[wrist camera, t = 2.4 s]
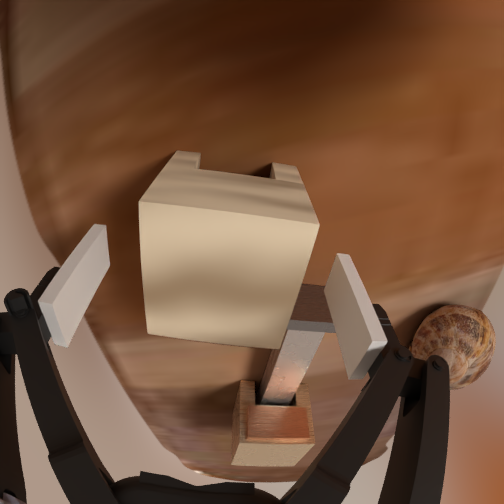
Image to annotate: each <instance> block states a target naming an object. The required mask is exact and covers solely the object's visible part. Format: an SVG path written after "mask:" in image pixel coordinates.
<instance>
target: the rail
mask: <svg viewBox="0 0 504 504" xmlns="http://www.w3.org/2000/svg"><path fill="white" fill-rule="evenodd" d="M324 288H325V286H318V285H308V284H301V287H300V290H299V293H298V296H297V299H296V302H295V305H294V308H293V311H292V314H291V317H290V320H289V323H288V326H287V329H286V332H285V335H284V338H283V340H282V343H281V346H280V349H272V351H271V354H270V357H269V360H268V363H267V366H266V369H265V372H264V375H263V378H262V380H261V383H260V386H259V389H258V392H257V395H256V398H255V381H247V380H241V381H240V385H239V389H238V393H237V397H236V401H235V405H234V409H233V420H232V452H231V465H243V466H294V465H295V464H296V463H297V462H298V461H299V460H300V459H301V458H302V457H303V456H304V455H305V454H306V453H307V452H308V451H309V450H310V449H311V448H312V447H313V446H314V444H315V438H314V430H313V422H312V414H311V406H310V398H309V391H308V384H302V383H300V382H301V381H302V379H303V377H304V375H305V373H306V371H307V369H308V367H309V365H310V363H311V361H312V359H313V357H314V355H315V353H316V350H317V348H318V346H319V344H320V342H321V340H322V338H323V336H324V334H325V332H328V333H336V331H335V327H334V324H333V320H332V317H331V313H330V310H329V307H328V303H327V300H326V296H325V293H324Z"/></svg>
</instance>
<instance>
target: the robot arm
mask: <svg viewBox="0 0 504 504" xmlns="http://www.w3.org/2000/svg"><path fill="white" fill-rule="evenodd" d="M109 267H110V259H109V251H108V241H107V231H106V225H99V224H94V225H93V226H92V227H91V229H90V230H89V231H88V232H87V234H86V235H85V236H84V237H83V239H82V240H81V241H80V243H79V244H78V245H77V246H76V248H75V249H74V250H73V252H72V253H71V254H70V256H69V257H68V258H67V260H66V261H65V263H64V264H63V265H62V267H61V268H60V267H54V268H52V269H51V270H49V271H48V272H47V273H46V275H45V276H44V277H43V278H42V280H41V281H40V283H39V285H37V287H36V288H35V290H34V291H33V293H32V294H31V295H29V293H28V291H27V290H25V289H22V288H18V289H14V290H12V291H10V292H9V293H8V294H7V295H6V297H5V298H4V304H5V306H6V309H7V311H8V312H2V313H0V504H27V501H26V489H25V482H24V477H23V471H22V465H21V458H20V452H19V443H18V434H17V423H16V406H15V354H17V355H18V360H19V364H20V368H21V372H22V376H23V379H24V383H25V386H26V390H27V393H28V396H29V399H30V402H31V406H32V409H33V411H34V414H35V417H36V420H37V423H38V426H39V428H40V431H41V433H42V436H43V439H44V441H45V443H46V446H47V448H48V451H49V455H48V458H49V462H50V464H51V466H52V469H53V471H54V473H55V475H56V477H57V479H58V481H59V483H60V485H61V487H62V489H63V491H64V493H65V495H66V497H67V498H68V500H69V502H70V504H341V503H342V501H343V500H344V498H345V497H346V495H347V494H348V492H349V490H350V483H351V481H352V480H353V478H354V477H355V475H356V474H357V472H358V470H359V469H360V467H361V465H362V464H363V462H364V461H365V459H366V457H367V455H368V454H369V452H370V450H371V449H372V447H373V445H374V443H375V441H376V440H377V438H378V436H379V434H380V432H381V430H382V429H383V427H384V425H385V423H386V421H387V419H388V417H389V415H390V413H391V411H392V409H393V407H394V405H395V403H396V401H397V399H398V396H401V402H400V408H399V415H398V420H397V426H396V431H395V436H394V442H393V446H392V451H391V456H390V460H389V464H388V468H387V472H386V476H385V480H384V484H383V487H382V491H381V494H380V498H379V501H378V504H440V500H441V494H442V487H443V480H444V474H445V465H446V455H447V446H448V432H449V409H450V374H449V365H448V363H447V361H446V360H445V359H444V358H443V357H441V356H439V355H431V356H430V357H429V358H428V359H427V360H426V361H425V360H422V359H418V358H414V357H413V354H412V353H411V351H410V350H409V349H407V348H406V347H404V346H402V345H400V343H399V340H398V338H397V336H396V334H395V331H394V329H393V327H392V326H391V323H390V320H388V319H389V318H388V316H387V314H386V312H385V310H384V309H383V308H382V307H381V306H380V305H379V304H372V303H371V301H370V299H369V296H368V294H367V292H366V290H365V288H364V285H363V283H362V281H361V279H360V277H359V275H358V272H357V270H356V268H355V266H354V264H353V262H352V260H351V258H350V256H349V255H347V254H339V253H337V255H336V258H335V260H334V263H333V266H332V269H331V272H330V275H329V277H328V280H327V283H326V286H325V288H324V293H325V296H326V300H327V303H328V307H329V310H330V313H331V317H332V320H333V324H334V327H335V331H336V334H337V338H338V341H339V345H340V349H341V352H342V356H343V360H344V363H345V367H346V371H347V375H348V379H363V378H364V377H365V375H366V374H367V372H368V373H369V376H370V379H369V380H368V382H367V383H366V385H365V386H364V387H363V389H362V390H361V391H362V392H361V393H360V395H359V396H358V398H357V400H356V401H355V403H354V404H353V406H352V407H351V409H350V410H349V412H348V413H347V415H346V416H345V418H344V419H343V421H342V422H341V424H340V425H339V427H338V428H337V430H336V431H335V432H334V434H333V435H332V437H331V438H330V439H329V441H328V442H327V444H326V445H325V446H324V448H323V449H322V450H321V452H320V453H319V454H318V456H317V457H316V458H315V460H314V461H313V462H312V463H311V465H310V466H309V467H308V468H307V470H306V471H305V472H304V473H303V475H302V476H301V477H300V478H299V480H298V481H297V482H296V483H295V484H294V485H293V486H292V487H291V489H290V490H289V491H288V492H287V493H286V494H285V495H284V496H283V497H282V498H281V499H280V500H279V499H278V498H276V497H275V496H273V495H271V494H269V493H267V492H265V491H263V490H260V489H256V488H254V483H236V482H224V483H218V484H210V485H203V486H194V485H191V484H189V483H186V482H183V481H180V480H177V479H175V478H172V477H170V476H166V475H159V474H153V473H148V472H143V471H141V472H140V476H134V477H128V478H125V479H122V480H119V481H117V482H114V480H113V479H112V477H111V476H110V474H109V473H108V471H107V470H106V468H105V467H104V465H103V464H102V462H101V460H100V459H99V457H98V455H97V453H96V452H95V450H94V448H93V446H92V444H91V442H90V440H89V438H88V436H87V435H86V432H85V431H84V428H83V426H82V425H81V422H80V420H79V418H78V416H77V414H76V412H75V410H74V407H73V405H72V403H71V401H70V398H69V396H68V394H67V391H66V389H65V386H64V384H63V381H62V379H61V377H60V374H59V371H58V369H57V366H56V363H55V360H54V358H53V355H52V352H51V349H50V346H49V344H48V341H49V339H50V337H52V340H53V342H54V344H55V345H59V346H63V347H66V348H68V346H69V344H70V342H71V340H72V338H73V335H74V334H75V331H76V329H77V327H78V325H79V323H80V321H81V319H82V317H83V315H84V313H85V311H86V309H87V307H88V305H89V303H90V302H91V300H92V298H93V296H94V294H95V292H96V290H97V288H98V286H99V285H100V283H101V281H102V279H103V277H104V275H105V274H106V272H107V270H108V268H109Z"/></svg>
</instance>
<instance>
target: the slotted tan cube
mask: <svg viewBox="0 0 504 504" xmlns="http://www.w3.org/2000/svg"><path fill="white" fill-rule="evenodd" d="M200 157H201V153H197V152H187V151H176V153H175V154H174V155H173V156H172V158H171V159H170V160H169V161H168V163H167V164H166V165H165V167H164V168H163V169H162V171H161V172H160V173H159V174H158V176H157V177H156V178H155V180H154V181H153V182H152V184H151V185H150V186H149V188H148V189H147V191H146V192H145V193H144V195H143V196H142V197H141V199H140V200H139V230H140V252H141V268H142V281H143V293H144V303H145V313H146V322H147V331H148V334H153V335H159V336H162V337H169V338H175V339H182V340H190V341H197V342H205V343H213V344H222V345H231V346H241V347H251V348H263V349H265V348H269V349H280V346H281V343H282V340H283V338H284V335H285V332H286V329H287V326H288V323H289V320H290V317H291V314H292V311H293V308H294V305H295V302H296V299H297V296H298V293H299V290H300V287H301V284H302V281H303V278H304V275H305V272H306V268H307V265H308V262H309V259H310V256H311V252H312V249H313V246H314V242H315V239H316V236H317V232H318V229H319V226H320V224H319V221H318V219H317V216H316V214H315V211H314V209H313V206H312V204H311V201H310V199H309V196H308V194H307V191H306V189H305V186H304V184H303V182H302V179H301V177H300V174H299V172H298V170H297V167H296V166H291V165H285V164H279V163H273V162H272V167H271V172H270V177H269V178H263V177H256V176H249V175H242V174H235V173H227V172H219V171H211V170H202V169H199V168H200Z"/></svg>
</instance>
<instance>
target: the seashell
mask: <svg viewBox="0 0 504 504" xmlns="http://www.w3.org/2000/svg"><path fill="white" fill-rule="evenodd" d="M409 350H410V351H411V353H412V354H413V357H414V358H418V359H422V360H425V361H426V360H427V359H428V358H429V357H430V356H431V355H439V356H441V357H443V358H444V359H445V360H446V361H447V363H448V365H449V374H450V390H453V389H460V388H463V387H465V386H467V385H469V384H471V383H473V382H474V381H476V380H477V379H478V378H479V377H480V376H481V375H482V374H483V373H484V372H485V370H486V369H487V368H488V366H489V364H490V362H491V359H492V357H493V354H494V350H495V332H494V329H493V326H492V324H491V323H490V321H489V319H488V318H487V317H486V316H485V315H484V314H483V312H482V311H480V310H477V309H475V308H472V307H468V306H464V305H447V306H444V307H441V308H439V309H437V310H436V311H434V312H433V313H431V314H429V315H428V316H427V317H426V318H425V319H424V320H423V322H422V323H421V324H420V326H419V328H418V329H417V331H416V333H415V336H414V338H413V343H412V344H411V346H410V347H409Z"/></svg>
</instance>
